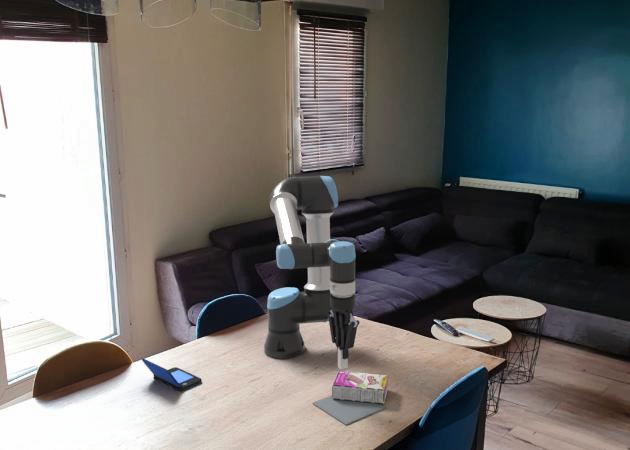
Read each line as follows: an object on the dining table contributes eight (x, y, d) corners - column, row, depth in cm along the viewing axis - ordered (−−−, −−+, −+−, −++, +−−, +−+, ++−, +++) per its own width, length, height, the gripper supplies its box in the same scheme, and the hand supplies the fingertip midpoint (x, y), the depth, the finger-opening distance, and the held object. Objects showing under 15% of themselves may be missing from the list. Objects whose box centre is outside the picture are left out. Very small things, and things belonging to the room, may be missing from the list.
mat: (312, 403, 188) (312, 402, 188) (352, 388, 197) (352, 387, 197) (345, 425, 175) (345, 424, 175) (386, 408, 185) (386, 407, 185)
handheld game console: (203, 383, 203) (202, 357, 201) (169, 398, 193) (167, 370, 191) (175, 369, 213) (174, 345, 211) (142, 383, 204) (140, 357, 202)
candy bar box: (338, 369, 199) (388, 374, 196) (338, 383, 200) (388, 388, 197) (332, 384, 188) (385, 389, 185) (331, 399, 189) (384, 405, 186)
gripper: (319, 290, 184) (320, 363, 189) (346, 302, 174) (347, 378, 179) (338, 286, 189) (338, 357, 194) (366, 296, 178) (366, 371, 183)
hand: (342, 367), depth 186 cm, fingers closed
